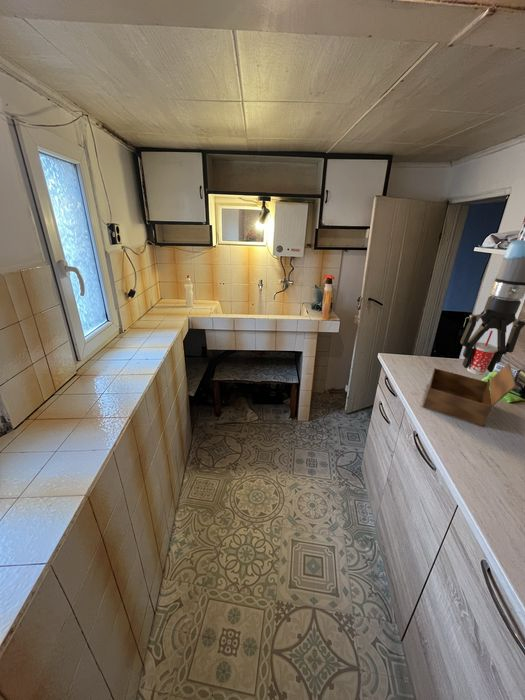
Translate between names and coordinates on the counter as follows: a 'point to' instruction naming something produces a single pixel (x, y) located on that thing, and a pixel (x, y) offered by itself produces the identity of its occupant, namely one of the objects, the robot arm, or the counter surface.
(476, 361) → the beverage cup
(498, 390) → the flap
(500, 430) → the counter surface
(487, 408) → the brown open-topped box
